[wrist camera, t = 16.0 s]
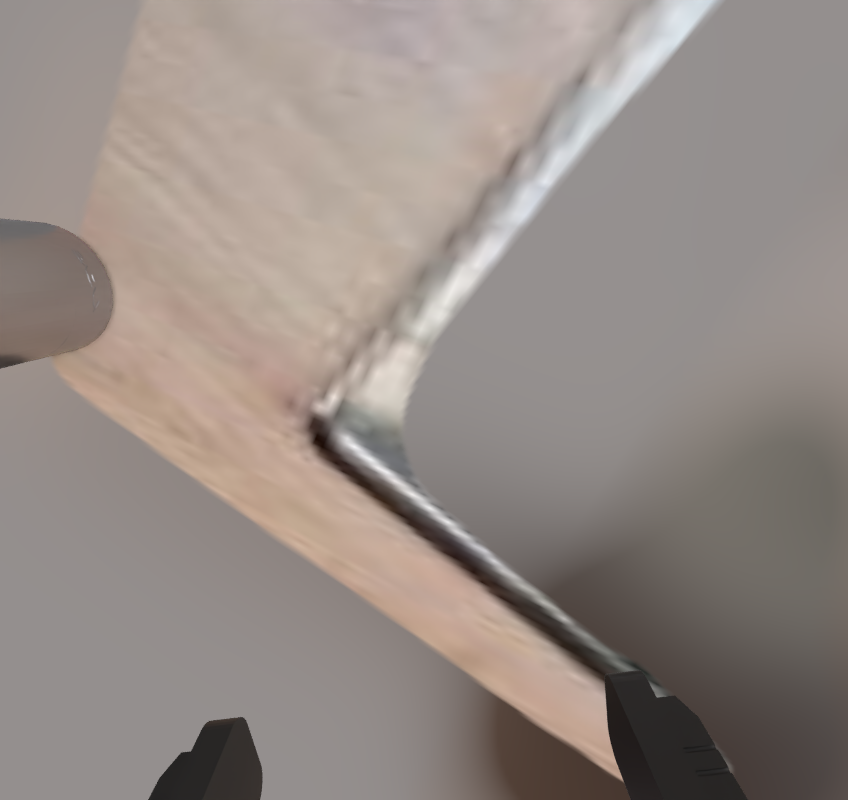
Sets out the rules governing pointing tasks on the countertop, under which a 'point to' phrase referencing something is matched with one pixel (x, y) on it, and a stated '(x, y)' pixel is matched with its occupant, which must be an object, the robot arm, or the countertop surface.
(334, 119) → the countertop surface
